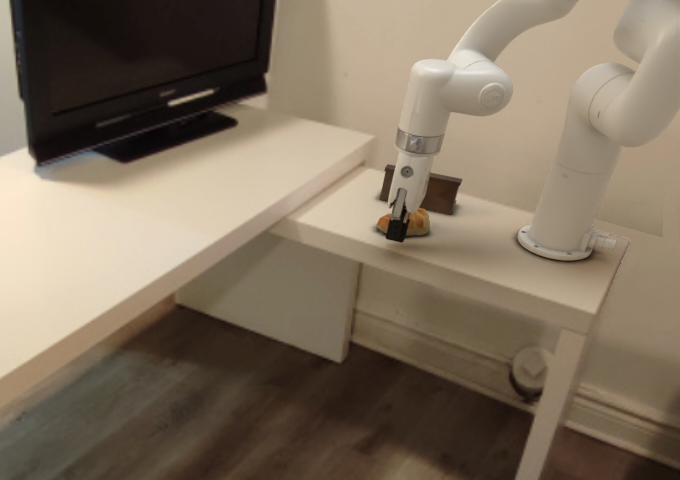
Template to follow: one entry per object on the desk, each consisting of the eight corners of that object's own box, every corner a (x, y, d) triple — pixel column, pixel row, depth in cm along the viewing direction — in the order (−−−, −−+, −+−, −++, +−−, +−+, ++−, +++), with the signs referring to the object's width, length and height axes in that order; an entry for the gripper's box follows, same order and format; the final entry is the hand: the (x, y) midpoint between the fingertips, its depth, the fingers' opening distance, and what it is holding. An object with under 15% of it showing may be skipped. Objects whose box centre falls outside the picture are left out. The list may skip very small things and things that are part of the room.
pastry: (385, 240, 146) (389, 221, 143) (369, 223, 151) (372, 205, 148) (431, 235, 147) (436, 216, 145) (413, 219, 152) (418, 200, 150)
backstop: (456, 206, 157) (465, 173, 153) (451, 215, 154) (460, 182, 150) (384, 190, 162) (391, 159, 158) (378, 199, 159) (385, 167, 155)
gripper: (432, 159, 125) (406, 262, 136) (450, 129, 135) (425, 227, 146) (385, 150, 127) (363, 251, 139) (406, 121, 138) (384, 218, 149)
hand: (395, 239), depth 142 cm, fingers closed
